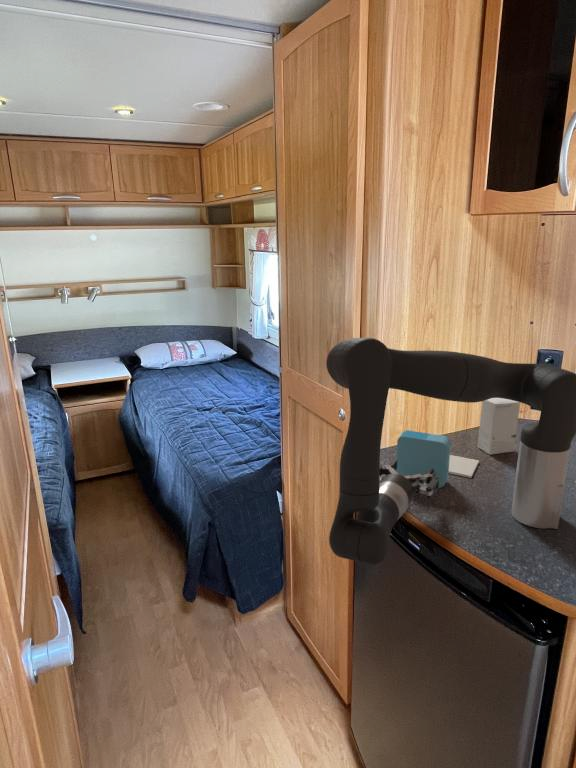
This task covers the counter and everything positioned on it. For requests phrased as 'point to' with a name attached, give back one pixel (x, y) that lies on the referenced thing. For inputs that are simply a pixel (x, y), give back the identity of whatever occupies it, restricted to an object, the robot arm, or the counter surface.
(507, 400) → the skincare box
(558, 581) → the counter surface
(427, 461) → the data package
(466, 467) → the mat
